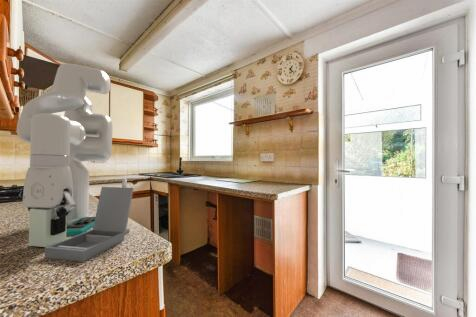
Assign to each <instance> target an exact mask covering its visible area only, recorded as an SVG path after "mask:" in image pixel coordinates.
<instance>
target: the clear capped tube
mask: <svg viewBox="0 0 476 317" xmlns="http://www.w3.org/2000/svg"><path fill="white" fill-rule="evenodd" d="M127 184H128V180H127V178H122V179H121V188H128V186H127ZM130 230H131V229H128V228H126V232H124V236H125V235H126V234H129V233H130Z"/></svg>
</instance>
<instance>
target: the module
mask: <svg viewBox="0 0 476 317" xmlns="http://www.w3.org/2000/svg"><path fill="white" fill-rule="evenodd" d="M60 205H61V204H60ZM57 206H59V205H57ZM60 210H61V208H58V212H59V211H60ZM28 218H29V219H28V220H29V224H28V246H30V247H31V246H32V247H41V248H42V247H43V248H45V247H48V246H50V245H53V244H56V243H58V242H61V241H64V240H66V239H67V236H66V233H67V225H68V224H67V217H66V227H65V232H62V233H59V234H56V235H51V219H54V218H53V214H52V209H51V208H32V209H30V212H29V217H28Z"/></svg>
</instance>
